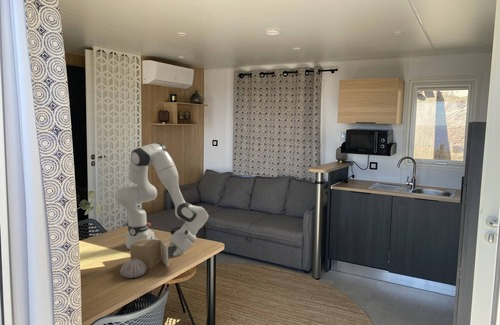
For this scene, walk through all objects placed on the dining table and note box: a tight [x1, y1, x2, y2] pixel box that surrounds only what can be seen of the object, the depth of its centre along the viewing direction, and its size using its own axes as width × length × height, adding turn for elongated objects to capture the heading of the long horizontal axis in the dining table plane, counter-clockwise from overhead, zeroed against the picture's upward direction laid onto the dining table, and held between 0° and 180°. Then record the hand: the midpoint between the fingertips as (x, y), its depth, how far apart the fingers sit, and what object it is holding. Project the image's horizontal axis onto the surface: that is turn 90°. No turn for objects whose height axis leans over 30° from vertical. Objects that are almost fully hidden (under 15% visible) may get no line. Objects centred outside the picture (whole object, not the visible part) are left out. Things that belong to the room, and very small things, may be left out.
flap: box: [161, 240, 176, 268], centre depth 211 cm, size 12×6×11 cm, turn 27°
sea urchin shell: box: [119, 258, 148, 279], centre depth 196 cm, size 13×14×8 cm
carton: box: [129, 238, 162, 269], centre depth 211 cm, size 12×12×12 cm
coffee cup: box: [170, 226, 186, 256], centre depth 226 cm, size 10×10×15 cm
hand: (170, 252), depth 208 cm, fingers open, 8 cm apart
